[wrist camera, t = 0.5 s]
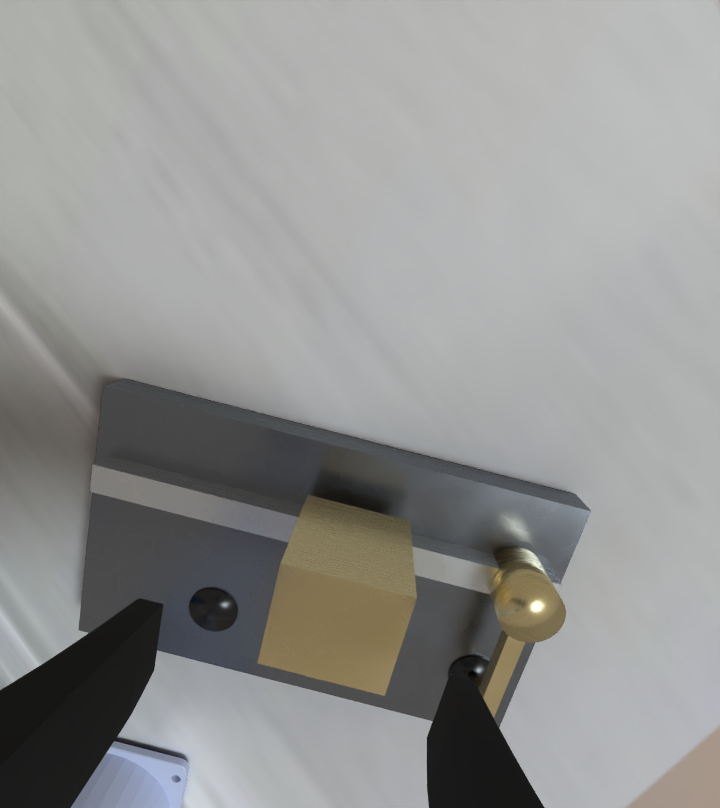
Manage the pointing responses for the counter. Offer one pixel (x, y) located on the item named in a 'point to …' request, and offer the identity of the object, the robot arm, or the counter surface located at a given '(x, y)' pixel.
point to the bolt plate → (274, 524)
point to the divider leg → (342, 596)
